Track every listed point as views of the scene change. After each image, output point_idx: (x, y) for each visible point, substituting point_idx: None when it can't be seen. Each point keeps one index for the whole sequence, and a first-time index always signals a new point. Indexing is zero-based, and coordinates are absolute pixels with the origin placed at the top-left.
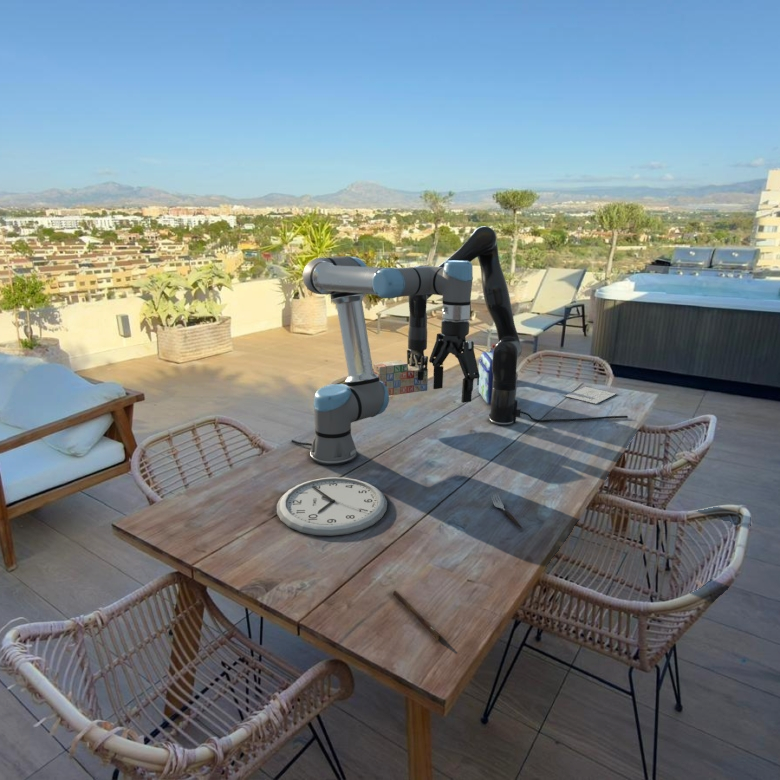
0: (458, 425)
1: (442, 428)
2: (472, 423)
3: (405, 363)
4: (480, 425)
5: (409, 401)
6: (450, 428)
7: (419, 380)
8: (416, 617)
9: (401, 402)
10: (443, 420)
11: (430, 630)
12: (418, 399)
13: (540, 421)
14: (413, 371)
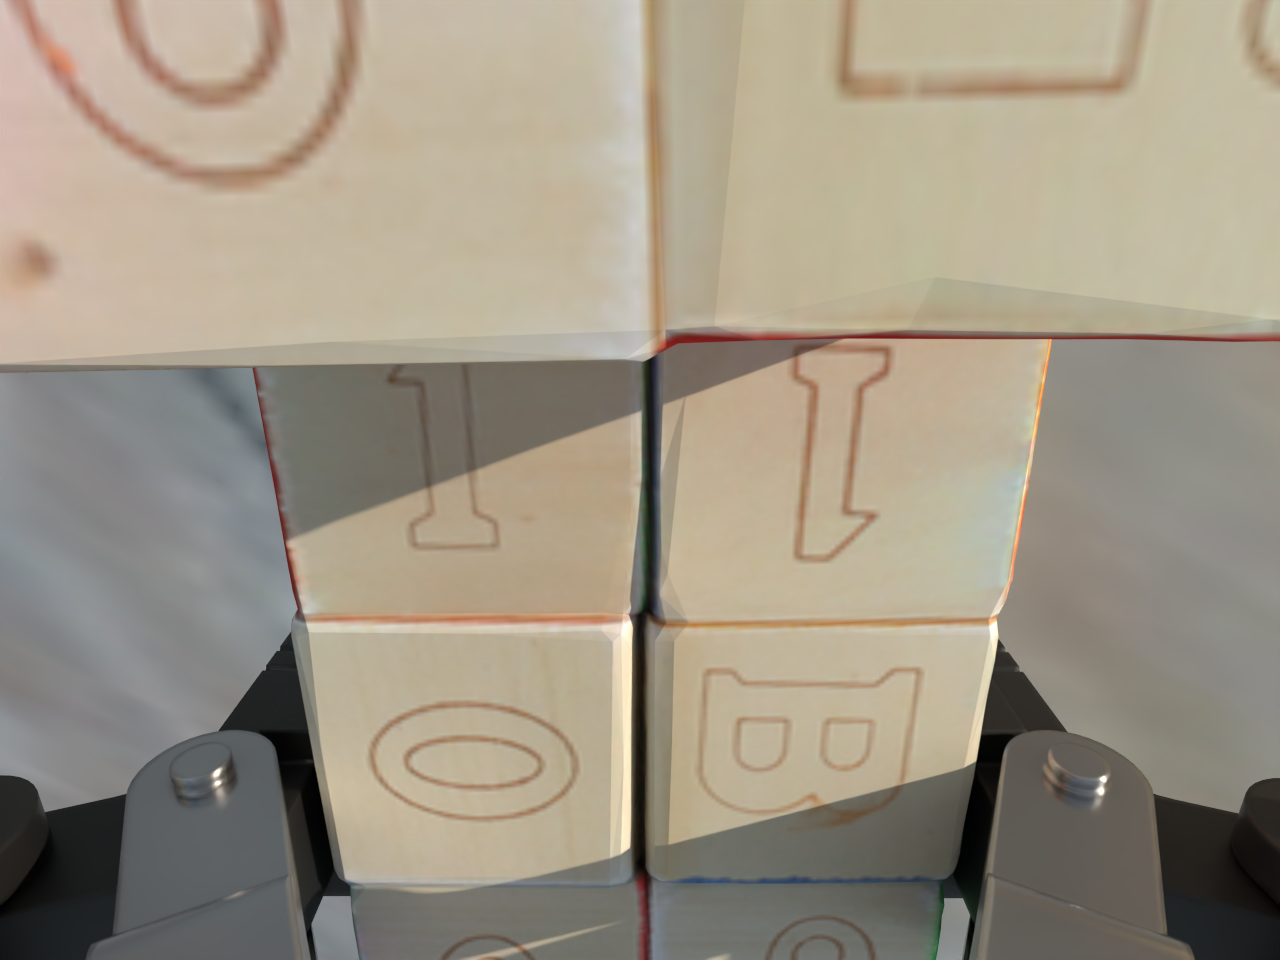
0: (90, 608)
1: (20, 408)
2: (125, 750)
3: (2, 176)
4: (58, 784)
5: (1050, 491)
6: (9, 490)
7: None
8: None
9: (1076, 378)
10: (274, 541)
11: None
12: (1051, 621)
13: None
14: (309, 560)
